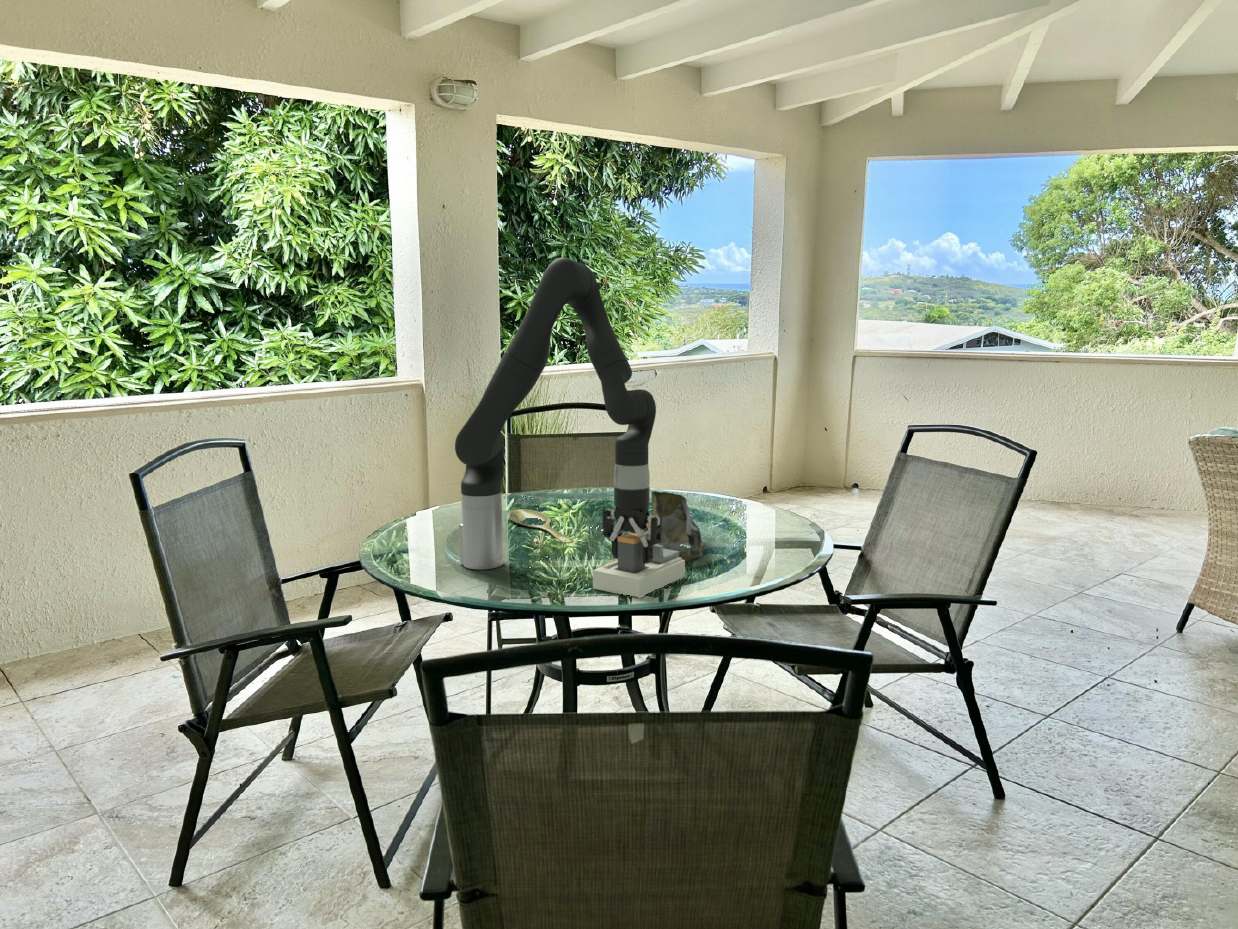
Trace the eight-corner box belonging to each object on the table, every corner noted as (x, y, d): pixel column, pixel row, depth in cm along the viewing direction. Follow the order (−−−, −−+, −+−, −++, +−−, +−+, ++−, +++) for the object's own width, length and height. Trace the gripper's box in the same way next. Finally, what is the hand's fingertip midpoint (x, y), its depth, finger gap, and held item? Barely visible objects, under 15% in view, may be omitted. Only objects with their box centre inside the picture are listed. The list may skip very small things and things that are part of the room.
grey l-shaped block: (632, 557, 202) (632, 541, 202) (649, 551, 208) (649, 535, 207) (663, 563, 198) (663, 547, 197) (679, 556, 203) (679, 540, 203)
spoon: (588, 547, 235) (588, 539, 235) (550, 552, 230) (550, 545, 230) (535, 513, 265) (535, 506, 265) (500, 517, 260) (500, 510, 260)
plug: (629, 577, 199) (629, 532, 197) (645, 580, 196) (645, 535, 194) (617, 582, 195) (617, 536, 194) (633, 585, 193) (633, 539, 191)
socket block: (592, 588, 194) (592, 568, 194) (639, 568, 209) (639, 549, 208) (639, 598, 188) (639, 577, 187) (684, 577, 202) (684, 557, 201)
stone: (693, 588, 213) (707, 533, 240) (703, 551, 209) (716, 500, 236) (623, 569, 215) (645, 516, 242) (632, 532, 211) (653, 483, 238)
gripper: (670, 485, 191) (669, 561, 194) (614, 478, 199) (614, 551, 202) (650, 491, 185) (650, 569, 188) (593, 483, 193) (594, 559, 196)
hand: (631, 560), depth 195 cm, fingers open, 7 cm apart
